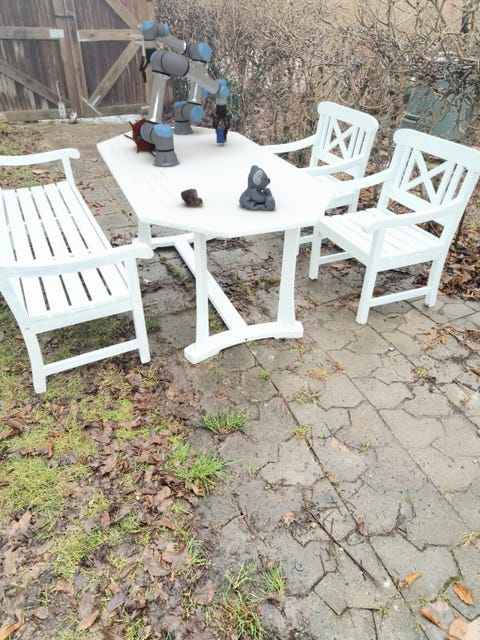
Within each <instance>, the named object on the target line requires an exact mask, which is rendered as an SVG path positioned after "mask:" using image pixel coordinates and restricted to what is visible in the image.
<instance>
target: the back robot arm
mask: <svg viewBox="0 0 480 640" xmlns="http://www.w3.org/2000/svg"><path fill="white" fill-rule="evenodd" d="M140 33H141V35H142V36H143V43H144V52H145V53H144V54H145V55H142V56H141V61H140V65H139V67H138V68H139V70H138V71H139V72H141V76H142V78H143V83H144V84H146V83H148V81H147V80H148V79H147V72H146V70H147V68H148V66H149V65H151V64H150V59H151V56H152V54H153V53H154V52H156V51H157V48H156V47H157V45H156V42H158V43H160V44H162V45H164V46H167V47H168V48H170V49H172V50H174V51H176V52H177V54H178V55H180V56H182V57H183V58H184V57H185V59H186V58H187V59H188V60H190V61H191V63H192V66H193V67H194V68H196V69H197V70H199V71H200V72H202V73H203V74H205V67H206V66H207V65H208V62H209V61H210V60H211V58H212V49H211V47H210V45H209V44H208V43H206V42H195V41H186V40H184V39H179V38H177V37H175V36H173V35H171V34H170V28H169V25H168V24H166V23H154V21H153V20H143V21H142V25H141V26H140ZM190 81H191V80H190ZM201 97H202V94H201V87H200V86H199V85H197V84H196V83H194V82H192V81H191V83H190V90H189V98H188V100H187V101H186V100H183V101H177V102H174V104H173V111H174V112H173V114H174V128H172V131H173V134H175V135H190V134H192V133H193V127H192V125H191V122H199V121H201V120H202V119H203V117H204V115H205V110H204V107H203V103H202V101H201Z"/></svg>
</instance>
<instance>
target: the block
mask: <svg viewBox="0 0 480 640" xmlns="http://www.w3.org/2000/svg"><path fill="white" fill-rule="evenodd" d="M224 130H225V127H224V126H223V127H221V126H219V127H218V129H216V131H215V134H216V144H221V145H223V144H225V143H227V141H228V138H227V139H224Z"/></svg>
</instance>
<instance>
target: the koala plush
mask: <svg viewBox="0 0 480 640" xmlns="http://www.w3.org/2000/svg"><path fill="white" fill-rule="evenodd" d="M270 183H271V178H269V176H268V175H267V173H266V172H265V170H264V169H263V168H261V167H259V165H257V164H253V165H250V170H249V173H248V176H247V188H246V189H245V190H244V191H243V192H242V193H241V194H240V197H239V199H238V203H239V204H240V206H241V207H242V208H246V209H247V210H252V211H255V210H261V211H272V210H274V209H275V208H276V200H275V198H274V196H273V194H272V191H271V188H270V187H268V186H269V185H270Z"/></svg>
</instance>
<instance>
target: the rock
mask: <svg viewBox="0 0 480 640" xmlns="http://www.w3.org/2000/svg"><path fill="white" fill-rule="evenodd" d="M180 197H181V200H182V201H183V202H184V203H185V205H187V206H189V207H191V206H192V207H193V206H201V205H203V204H204V202H203V199H202V197H199V195H198V190H197V189H196V188H188V189H185V190H181V192H180Z"/></svg>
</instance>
